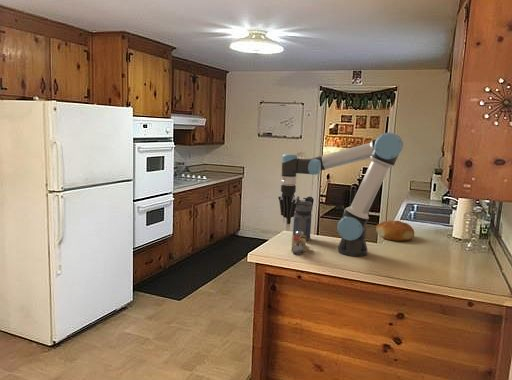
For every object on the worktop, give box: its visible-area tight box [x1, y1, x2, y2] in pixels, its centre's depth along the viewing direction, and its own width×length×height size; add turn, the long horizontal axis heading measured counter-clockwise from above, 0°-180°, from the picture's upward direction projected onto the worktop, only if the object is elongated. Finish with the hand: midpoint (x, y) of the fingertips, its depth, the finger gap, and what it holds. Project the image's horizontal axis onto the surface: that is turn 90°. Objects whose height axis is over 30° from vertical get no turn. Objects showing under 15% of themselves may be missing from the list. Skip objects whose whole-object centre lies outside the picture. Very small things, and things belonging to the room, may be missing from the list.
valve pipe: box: [290, 234, 307, 255], centre depth 218 cm, size 18×7×8 cm, turn 171°
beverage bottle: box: [292, 196, 315, 241], centre depth 239 cm, size 10×13×25 cm
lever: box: [293, 231, 303, 241], centre depth 212 cm, size 14×4×2 cm, turn 167°
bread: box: [375, 220, 415, 242], centre depth 254 cm, size 23×23×10 cm
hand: (286, 229), depth 215 cm, fingers closed
